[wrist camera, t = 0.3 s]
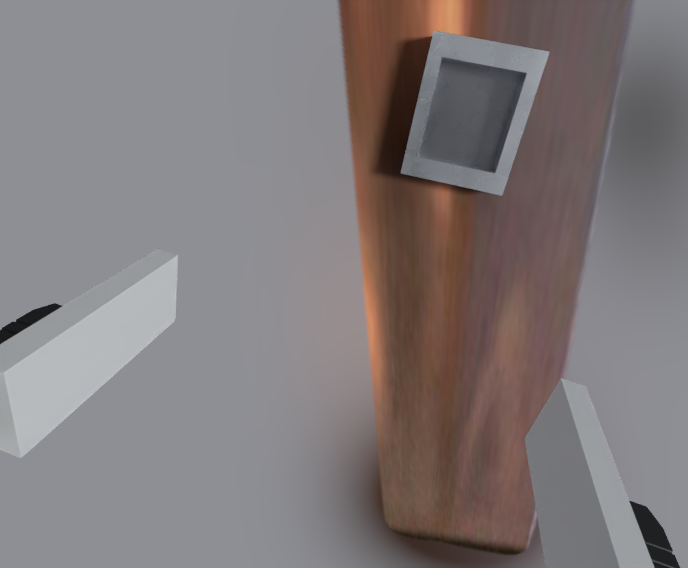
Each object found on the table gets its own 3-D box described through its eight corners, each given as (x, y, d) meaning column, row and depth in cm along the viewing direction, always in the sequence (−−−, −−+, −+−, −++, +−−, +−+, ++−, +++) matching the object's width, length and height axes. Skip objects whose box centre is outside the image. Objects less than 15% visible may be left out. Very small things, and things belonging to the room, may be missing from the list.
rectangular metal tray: (433, 35, 33) (433, 30, 31) (541, 55, 33) (549, 51, 30) (402, 169, 37) (400, 173, 35) (497, 190, 36) (502, 195, 34)
